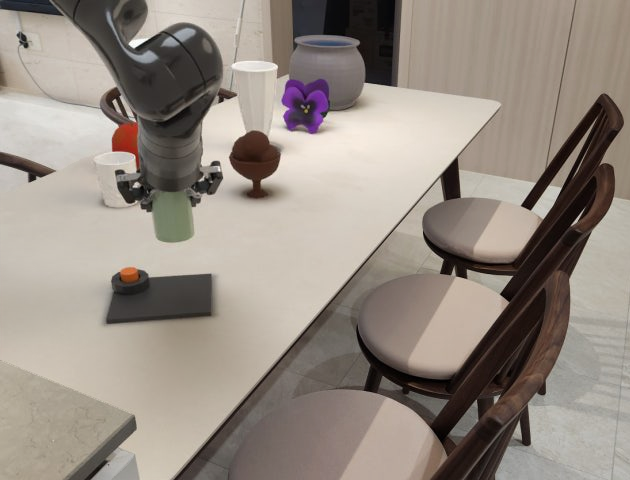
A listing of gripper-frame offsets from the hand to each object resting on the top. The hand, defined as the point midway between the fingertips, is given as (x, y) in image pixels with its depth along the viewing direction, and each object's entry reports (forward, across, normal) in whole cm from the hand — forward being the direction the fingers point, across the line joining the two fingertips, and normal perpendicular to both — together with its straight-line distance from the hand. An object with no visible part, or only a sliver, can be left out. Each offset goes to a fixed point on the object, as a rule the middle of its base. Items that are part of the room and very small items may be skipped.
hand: (170, 203), depth 93 cm
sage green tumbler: (+2, 0, +4) cm, 5 cm away
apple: (+56, +2, -33) cm, 65 cm away
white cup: (+41, +7, -18) cm, 46 cm away
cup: (+60, -28, -37) cm, 76 cm away
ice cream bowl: (+39, -21, -15) cm, 47 cm away
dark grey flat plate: (+12, +3, +12) cm, 17 cm away
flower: (+73, -48, -50) cm, 100 cm away
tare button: (+13, +7, +7) cm, 16 cm away
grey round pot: (+90, -61, -67) cm, 127 cm away
